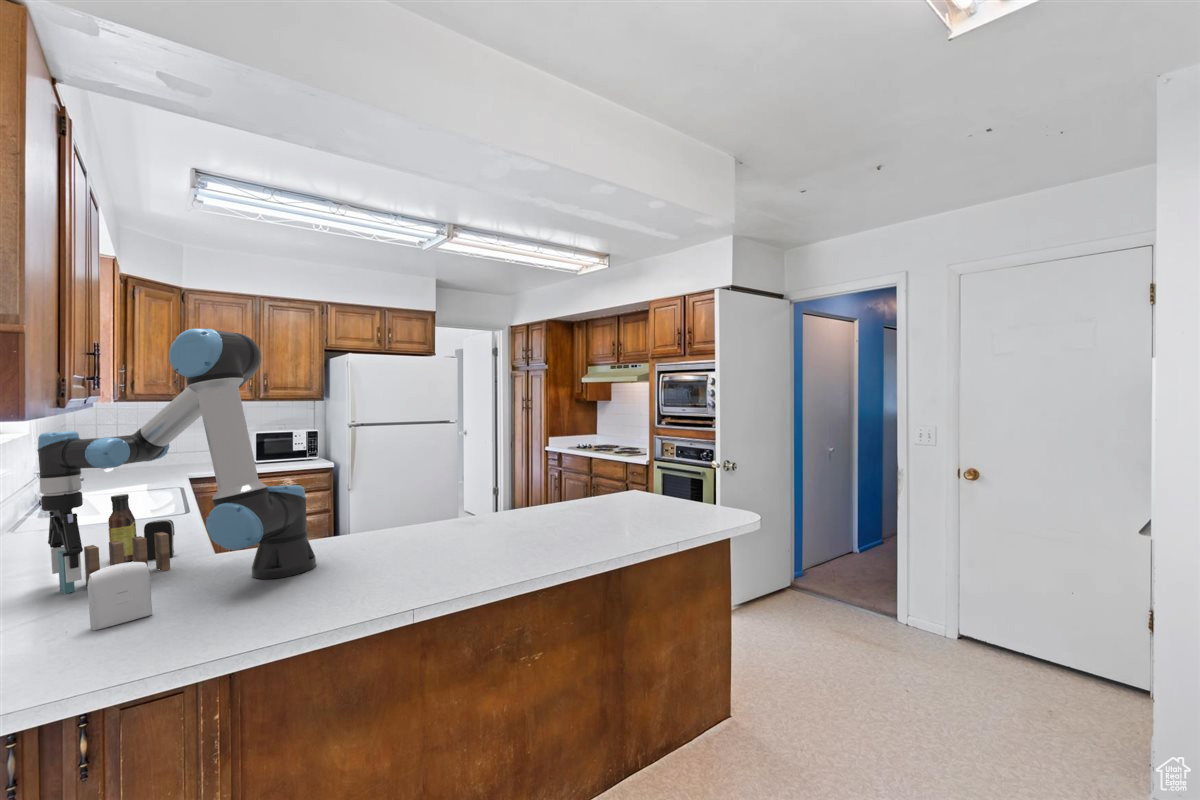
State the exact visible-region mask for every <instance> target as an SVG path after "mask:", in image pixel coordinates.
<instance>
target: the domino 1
mask: <svg viewBox="0 0 1200 800" xmlns="http://www.w3.org/2000/svg"><path fill="white" fill-rule="evenodd" d="M63 553H66V552H65V550H64V551H59V552H58V565H59V573H58V579H59V581H58V582H59V591H60V592H61V591H62V592H63V594H64V593H65V594H64V595H67V594H66V593H69V594H71V593H70V592H73V593H75V592H76V591H75V590H76V589H75V587H76V586H75V581H73V582H68V583H66V572H65V557H62V555H63ZM74 591H75V592H74ZM62 592H61V593H62Z"/></svg>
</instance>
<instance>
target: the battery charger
mask: <svg viewBox="0 0 1200 800" xmlns="http://www.w3.org/2000/svg"><path fill="white" fill-rule="evenodd" d="M159 532H164V533H167V534H169V553H170V558H173V557H174V556H175V550H174V536H175V524H174V521H173V520H171V519H159V520H151V521H149V522H147V523H146V524H144V526H143V537H144V538H146V539H147V557H148V561H153V560H156V555H155V537H154V533H159Z"/></svg>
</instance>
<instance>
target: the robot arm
mask: <svg viewBox="0 0 1200 800" xmlns="http://www.w3.org/2000/svg"><path fill="white" fill-rule="evenodd" d="M169 348H170V349H169V352H168V354H169V355H168V360H169V363H170V366H171V367H172V369H173V370H174V371H175V372H177V374H179V375H180V376H183V377H185V381H186V385H187V387H186V388H185V389H183V391H181V392H180V393H179V394H178V395H177V396H176V397H175V398H173V399H172V400H171V401H170V402H169V403H168V404H166V406H165V407H164V408H162V409H161V410H159V412H157V413H156V414H155V415H153V417H152V418H151V419H149V420H148V422H146V423H145V424H144V425H143V426H141V428H139V429H138V430H136V431H135V432H134V433H132V434H129V435H128V434H127V435H118V436H106V437H97V438H96V437H95V438H80V434H79V433H78V432H77V431H76V430H75V431H73V430H70V431H69V430H67V431H66V430H65V431H52V432H51V431H50V432H43V433H40V434H39V435H38V437H37V439H38V440H37V441H38V443H37V449H36V450H37V454H38V469H39V489H40V491H39V492H40V494H42V496H40V500H41V501H40V502H41V505H40V506H41V510H42V511H43V512H49V514H48V515H49V527H48V541H47V543H48V545H49V547H50V561H51V574H52V575H54V574H55V575H56V574H59V565H58V552H59V551H64V550H65V552H66V553H63V555H62V557H65V572H66V583H68V582H73V581H74V582H77V581H82V577H83V576H82V563H81V560H82V559H81V553H83V552H84V547H83V544H82V539H81V534H80V529H79V522H78V513H76V512H74V513H73V509H74V508H80V507H82V506H83V502H84V501H83V500H84V499H83V492H82V491H80V490H81V489H82V482H84V481H85V478H84V476H82V475H81V474H82V469H103V470H104V469H105V470H106V469H112V468H118V467H121V466H122V465H128V464H135V463H142V462H152V461H155V460H158V459H161V458H164V457H165V456H166V455H167V454H168V452H169V449H170V443H171V442H173V440H175V439H176V438H177V437H178V436H180V435H181V434H182V433H183V432H184V431H185V430H186V429H187V428H189V427H190V426H191V425H192V424H193V423H195V422H196V421H197V420H198V419H199V418H200V417H202V422H203V426H204V431H205V435H206V440H207V445H208V449H209V454H210V459H211V463H212V467H213V471H214V477H215V480H216V485H217V491H216V492H215V494H214V495H213V496H212V497H211V498H212V503H213V509H211V511H210V512H209V513H208V514H209V515H208V516H207V517H206V522H205V527H206V532H207V534H208V536H209V538H210V539H211V541H213V542H214V543H215V545H217V546H220V547H222V548H223V549H225V550H231V551H238V550H242V549H243V550H244V549H246V548H251V547H253V546H256V545H257V549H256V552H255V556H254V559H253V562H252V565H251V576H252V577H253V578H255V579H260V580H262V579H263V580H269V579H270V580H271V579H273V580H274V579H281V578H286V577H292V576H295V575H299V574H302V573H306V572H308V571H310V570H312V569H314V568H315V567H316V566H317V564H316V560H317V559H316V555H315V552H314V550H313V547H312V546H311V543H310V541H309V539H308V527H307V526H308V523H307V501H306V500H307V496H306V491H305V487H304V486H303V485H299V484H298V485H297V484H296V485H291V484H290V485H271V486H270V485H269V486H268V485H267V484H265V483H263V482H262V481H260V480H259V476H258V471H257V466H256V461H255V457H254V453H253V448H252V443H251V439H250V434H249V430H248V429H249V428H248V425H247V420H246V416H245V412H244V407H243V402H242V398H241V394H240V388H241V387H242V386H244V385H245V384H246V383H247V382H248V381H250V379H251V378H253V376H255V374H256V373H257V372H258V370H259V368H260V366H261V363H262V352H261V350H260V347H259V345H258V344H257V343H256V342H255V340H254V339H252V338H251V337H250V336H248V335H245V334H243V333H239V332H229V331H228V332H227V331H224V330H223V331H222V330H215V329H213V328H209V327H208V328H190V329H187V330H184V331H182V332H181V333H179V335H177V336H176V337H175V340H174V341H173V342H172V343H171V345H170V347H169Z"/></svg>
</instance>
